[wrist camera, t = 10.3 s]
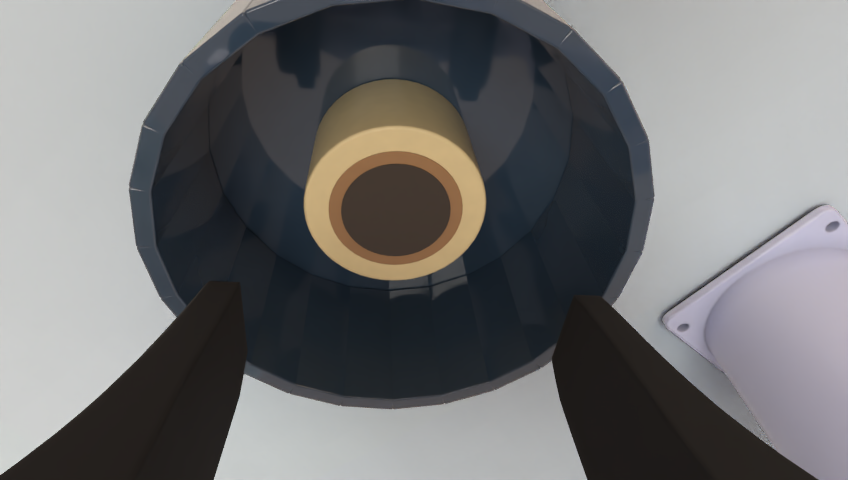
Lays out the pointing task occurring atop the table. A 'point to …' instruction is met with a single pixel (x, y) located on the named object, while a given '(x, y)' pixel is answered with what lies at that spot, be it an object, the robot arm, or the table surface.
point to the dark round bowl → (288, 170)
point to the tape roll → (393, 182)
